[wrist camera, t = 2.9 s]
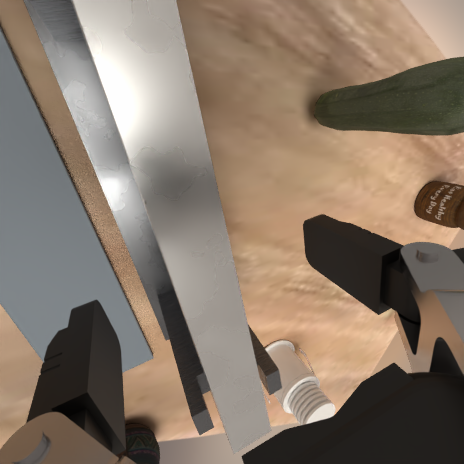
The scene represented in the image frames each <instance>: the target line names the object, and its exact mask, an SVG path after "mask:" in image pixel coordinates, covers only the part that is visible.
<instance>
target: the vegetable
mask: <svg viewBox="0 0 464 464" xmlns="http://www.w3.org/2000/svg"><path fill="white" fill-rule="evenodd" d="M314 116H315V117H316V118H317V120H318V122H319V123H320V124H321V125H323V126H326V127H329V128H333V129H337V130H343V131H345V130H365V131H383V132H393V133H402V134H418V135H453V134H458V133H462V132H464V57H457V58H450V59H446V60H441V61H437V62H433V63H429V64H425V65H422V66H418V67H414V68H411V69H408V70H406V71H404V72H401V73H399V74H396V75H394V76H391V77H389V78H386V79H382V80H379V81H375V82H371V83H367V84H362V85H356V86H349V87H345V88H341V89H337V90H332V91H329V92H327V93H325V94H323V95H321V97H320V98H319V100H318V101H317V103H316V106H315V112H314Z"/></svg>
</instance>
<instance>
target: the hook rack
mask: <svg viewBox="0 0 464 464" xmlns="http://www.w3.org/2000/svg"><path fill="white" fill-rule="evenodd" d="M24 3H25V5H26V7H27V10H28V12H29V15H30V17H31V19H32V22H33V24H34V26H35V29H36V31H37V34H38V36H39V38H40V41H41V43H42V46H43V48H44V50H45V53H46V55H47V58H48V60H49V62H50V65H51V67H52V69H53V72H54V74H55V77H56V79H57V81H58V84H59V86H60V89H61V91H62V93H63V96H64V98H65V101H66V103H67V105H68V108H69V110H70V112H71V115H72V117H73V120H74V122H75V124H76V127H77V129H78V132H79V134H80V136H81V139H82V141H83V144H84V146H85V148H86V151H87V153H88V155H89V158H90V160H91V163H92V165H93V167H94V170H95V172H96V175H97V177H98V179H99V182H100V184H101V187H102V189H103V191H104V194H105V196H106V198H107V201H108V203H109V206H110V208H111V210H112V213H113V215H114V218H115V220H116V222H117V225H118V227H119V230H120V232H121V234H122V237H123V239H124V241H125V244H126V246H127V249H128V251H129V253H130V256H131V258H132V261H133V263H134V265H135V268H136V270H137V273H138V275H139V277H140V280H141V282H142V284H143V287H144V289H145V292H146V294H147V296H148V299H149V301H150V304H151V306H152V308H153V311H154V313H155V316H156V318H157V320H158V323H159V325H160V327H161V330H162V332H163V335H164V337H165V339H166V340H168V339H170V342H171V346H172V349H173V353H174V356H175V360H176V363H177V367H178V371H179V374H180V378H181V381H182V385H183V388H184V392H185V395H186V399H187V402H188V406H189V409H190V413H191V416H192V419H193V421H194V424H195V426H196V428H197V431H198V433H199V435H201V434H203V433H205V432H207V431H208V430H210V429H212V428H214V426H213V423H212V420H211V417H210V414H209V411H208V408H207V405H206V403H205V400H204V397H203V394H204V393H206V392H208V391H210V388H209V385H208V383H207V380H206V377H205V374H204V371H203V369H202V366H201V363H200V360H199V357H198V355H197V352H196V349H195V346H194V343H193V341H192V338H191V335H190V332H189V329H188V327H187V324H186V321H185V318H184V315H183V313H182V310H181V307H180V304H179V301H178V299H177V296H176V293H175V290H174V287H173V285H172V282H171V279H170V276H169V274H168V271H167V268H166V265H165V262H164V260H163V257H162V254H161V251H160V248H159V246H158V243H157V240H156V237H155V234H154V232H153V229H152V226H151V223H150V220H149V218H148V215H147V212H146V209H145V206H144V204H143V201H142V198H141V195H140V192H139V190H138V187H137V184H136V181H135V178H134V176H133V173H132V170H131V167H130V164H129V162H128V159H127V156H126V153H125V150H124V148H123V145H122V142H121V139H120V136H119V134H118V131H117V128H116V125H115V122H114V120H113V117H112V114H111V111H110V108H109V106H108V103H107V100H106V97H105V94H104V92H103V89H102V86H101V83H100V81H99V78H98V75H97V72H96V69H95V67H94V64H93V61H92V58H91V55H90V53H89V50H88V47H87V44H86V41H85V39H84V36H83V33H82V30H81V27H80V25H79V22H78V19H77V16H76V13H75V11H74V8H73V5H72V2H71V0H24ZM248 327H249V325H248ZM249 332H250V336H251V341H252V345H253V350H254V355H255V359H256V364H257V368H258V373H259V377H260V379H261V381H262V383H263V384H264V386H265V388H266V390H267V391H268V393H269V395H271V394H273V393H275V392H276V391H278V390H280V389H282V384H281V378H280V372H279V369H278V367H277V366H276V364H275V363H274V361H273V360H272V359H271V357H270V356H269V354H268V353H267V351H266V350H265V348H264V347H263V345H262V344H261V343H260V341H259V340H258V338H257V337H256V335H255V334H254V332H253V331H252V329H251V328H250V327H249Z"/></svg>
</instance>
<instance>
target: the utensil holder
mask: <svg viewBox="0 0 464 464" xmlns="http://www.w3.org/2000/svg"><path fill="white" fill-rule="evenodd" d="M415 212H416V214H417V216H418V217H420V218H422V219H424V220H427V221H430V222H433V223H436V224H439V225H442V226H446V227H450V228H458V227H460V228H461V229H463V230H464V186H462V185H457V184H452V183H446V182H439V181H435V182H431V183H429V184H427V185H426V186H425V187H424V188H423V189H422V190H421V191H420V193H419V195H418V197H417V199H416V203H415Z"/></svg>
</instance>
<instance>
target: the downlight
mask: <svg viewBox="0 0 464 464" xmlns="http://www.w3.org/2000/svg"><path fill="white" fill-rule="evenodd" d="M299 349H300V348H299ZM265 350H266V351H267V353H268V354H269V356H270V357H271V359H272V360H273V361H274V363H275V364H276V366H277V367H278V369H279V372H280V378H281V384H282V389H280V390H278V391H276V392H275V393H273V394H274V395H275V397H276V398H277V400H278V401H279V403H280V404H281V406H282V407H283V409H284V410H285V412H287V413H293V415H294V416H295V418H296V419H297V420H298V422H299V424H300V425H304V424H308V423H312V422H316V421H319V420H323V419H327V418H330V417H332V416H334V413H335V406H334V404H333V403H332V402H331V401H330V400H329V399H328V397H327V396H326V395H325V394H324V393H323V391H322V390H321V389H320V388H319V386H320V382H319V380H318V378H317V377H316V376H315V373H314V371H313V369H312V367H311V365H310V363H309V360H308V358H307V356H306V354H305V353H304V352H303V351H302V350H301V349H300V352H301V353H302V354H303V355H304V356H305V357H306V358H307V361H308V363H309V365H310V367H311V369H312V372H313V373H312V372H311V371H310V369H309V368H308V367H307V366H306V365H305V364H304V363H303V361H302V360H301V359H300V358H299V357H298V356H297V355H296V354H295V348H294V346H293V344H292V343H291V342H290V341H287V340H279V341H276V342H273V343H272V344H270V345H269V346H267V347H266V348H265ZM260 382H261V379H260ZM261 386H262V383H261ZM262 390H263V387H262ZM263 393H264V390H263ZM264 396H265V397H266V395H265V394H264ZM266 399H267V400H268V402H269V403H270V401H269V399H268V398H267V397H266Z"/></svg>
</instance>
